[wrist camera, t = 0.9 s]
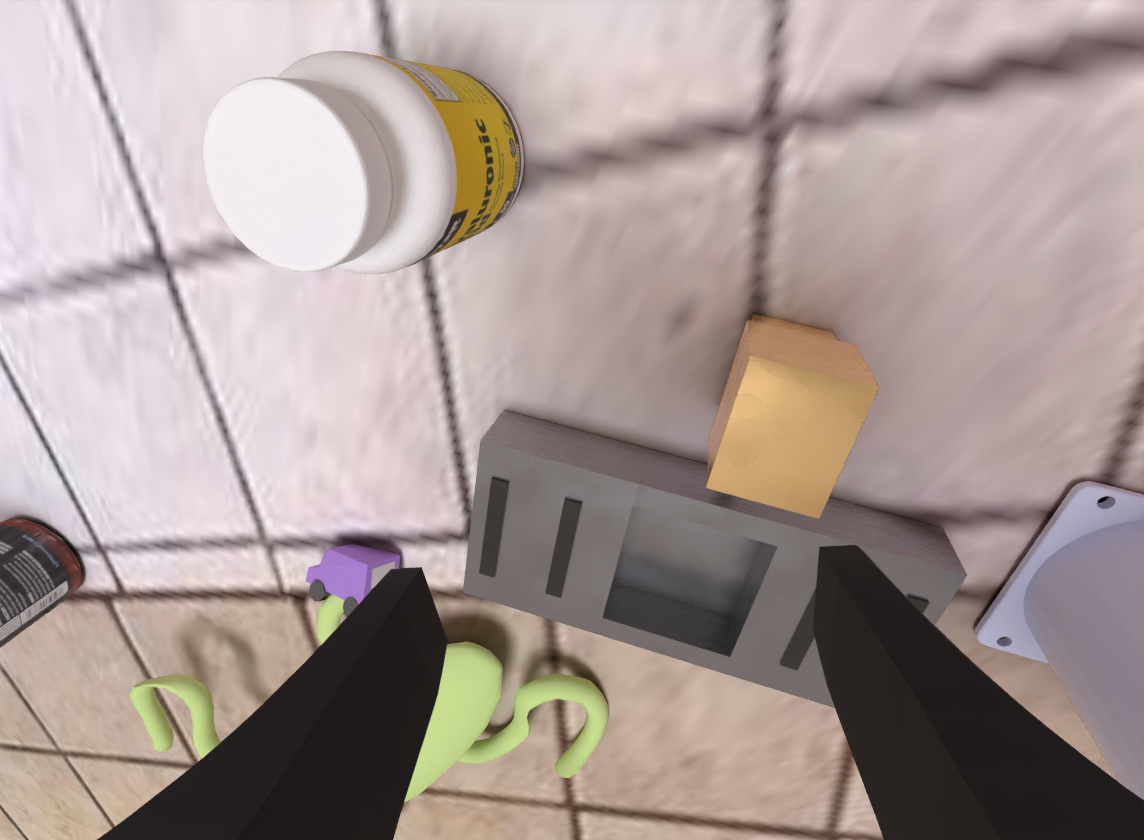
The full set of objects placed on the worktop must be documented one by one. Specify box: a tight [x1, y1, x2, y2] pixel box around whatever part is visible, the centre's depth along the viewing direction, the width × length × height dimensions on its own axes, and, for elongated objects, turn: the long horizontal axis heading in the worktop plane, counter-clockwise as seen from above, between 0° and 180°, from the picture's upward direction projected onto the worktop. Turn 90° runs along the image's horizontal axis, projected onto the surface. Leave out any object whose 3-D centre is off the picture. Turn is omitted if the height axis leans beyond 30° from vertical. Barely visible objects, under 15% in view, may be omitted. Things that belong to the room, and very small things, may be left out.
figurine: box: [129, 544, 608, 829], centre depth 34 cm, size 18×27×6 cm
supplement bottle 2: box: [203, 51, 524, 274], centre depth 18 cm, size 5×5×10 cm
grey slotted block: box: [463, 410, 967, 708], centre depth 25 cm, size 18×8×3 cm, turn 80°
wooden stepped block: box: [706, 313, 879, 519], centre depth 20 cm, size 4×4×6 cm
